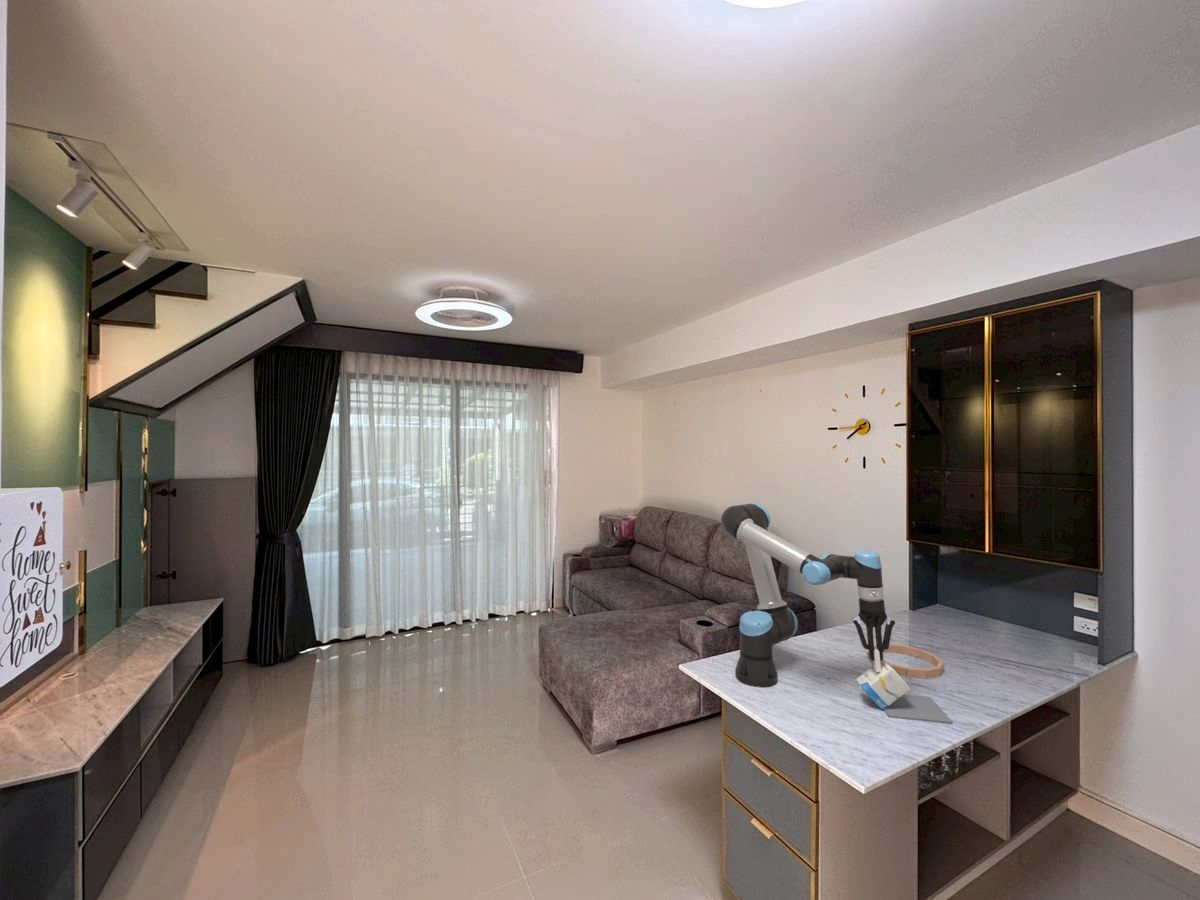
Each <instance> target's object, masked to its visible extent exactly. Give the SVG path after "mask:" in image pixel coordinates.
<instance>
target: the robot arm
mask: <svg viewBox="0 0 1200 900" xmlns="http://www.w3.org/2000/svg"><path fill="white" fill-rule="evenodd" d="M720 521H721V526H722V529H723V530H724V531H725V533H727V534H728V535H729V536H730V537H731V538H733V539H735V540H737V541H739V542H740V543H741V542H743V543H744V547H745V550H746V554H747V558H748V561H749V566H750V570H751V574H752V577H753V582H754V586H755V589H756V590H755V591H756V594H757V598H758V601H759V603H758V605H757V606H756V610H754V611H752V610H750V611H747V612H744V613H743V614H741V616H740V618H739V628H738V629H739V657H738V661H737V663H736V666H735V670H734V672H735V673H734V674H735V675H736V676H735V678H736V679H737V680H738V681H739V680H740V681H739V682H741V683H743V684H745V683H746V684H745V685H747V684H749V686H751V685H753V686H752V687H756V686H760V687H759V688H762V687H763V688H765V687H767V686H768V687H771V686H775V685H777V684H778V680H779V679H778V677H779V676H778V675H779V674H778V671H777V668H776V665H775V662H774V657H773V653H774V652H773V649H774V648H773V646H775V645H777V644H780V643H781V642H786V641H787V640H789V639H791V638H792V637H793V636H794V635H796V632H797V631H798V627H799V623H798V618H797V616H796V614H795V613H794V611H792V610H791V608H789V606H788V603H787V602H786V601H784V600H783V599H782V595H781V592H780V588H779V584H778V580H777V576H776V572H775V568H774V565H773V560H772V558H774V559H775V560H777V561H779V562H781V564H784V565H786V566H787V567H789V568H791V569H793V570H795V571H796V572H798V573H800V574H801V575H802V576H803V577H802V578H804V580H805V582H806V583H808V584H810V585H812V586H818V585H825V584H827V583H829V582H832V581H836V580H837V579H841V578H843V579H852V580H856V583H857V595H858V598H859V599H858V607H859V613H858V614H857V615H858V616H856V617H855V618H854V617H853V618H851V622H852V623H853V624H854V626H855V629H856V631H857V634H858V637H859V640H860V643H861V646H862V647H863V648H864V650H869V658H870V659H871V661H873V665H872V667H874V670H875V671H876V672H881V666H880V661H883V659H884V652H883V651H884V650H885V649H886V650H887V649H888V648H889V644H891V636H892V631H893V627H894V626H895V624H896V621H895V620H894V619H893V618H890V617H888V614H887V613H886V607H885V606H886V605H885V600H884V597H885V596H884V595H885V594H884V585H883V570H882V567H883V566H882V563H881V557H880V554H879V553H878V552H877V551H873V550H872V551H871V550H860V551H856V552H855V553H854V556H848V555H840V554H834V553H832V554H829V553H827V554H826V553H825V554H823V555H821V557H818V556H815V555H814V554H812V553H810V552H809V551H807V550H805V549H802V548H801V547H799V546H797V545H796V544H793V543H791V542H789V541H788V540H785V539H784V538H782V537H780V536H778V535H776V534H774V533H773V532H770V531H769V530H768V528H769V526H770V524H771V516H770V513H769V511H768V510H767V509H766V508H765V506H763V505H761V504H758V503H745V504H738V505H731V506H729V507H727V508H726V509H725V510H724V511H723V512H722V515H721V520H720ZM861 623H863V624H864V625H865V629H866V636H867V637H865V634H864V631H863V629H862V626H861ZM884 624H885V627H884V632H883V635H882V626H883V625H884ZM874 633H875V642H874ZM882 637H883V638H882ZM866 638H867V640H866ZM874 645H876V646H877V649H874Z"/></svg>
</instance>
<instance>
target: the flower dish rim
mask: <svg viewBox="0 0 1200 900" xmlns="http://www.w3.org/2000/svg"><path fill="white" fill-rule="evenodd" d="M874 649H877V646H876V644H874ZM883 653H893V654H894V653H895V654H904V655H907V654H908V656H911V655H912V657H916V656H917V657H916V658H919V657H920V658H919V659H922V660H924V659H925V660H924V661H926V660H927V661H926V662H928V663H932V664H933V666H935V667H930V668H924V669H923V668H914V667H913V668H910V667H903V666H900V665H897V664H892V663H889V662H887V661H886V663H888V664H889V665H890V666H891V667H892V668H893V669H894V670H895V671H896V672H897V673H898V675H899V676H900V677H905V678H911V679H922V678H924V679H923V680H928V678H929V679H933V677H934V678H938V677H937V676H939V677H941V676H942V674H941V673H943V672H944V662H943V661H942V660H941V659H940V658H939V657H938V656H937V655H935V654H933V653H930V652H928V651H926V650H923V649H921V648H916V647H913V646H907V645H903V644H892V643H889V648H888V649H887V650H886V649H885V650H884V651H883ZM866 658H867V660H868V661H869V663H871V665H872V666H873V661H871V659H870V658H869V650H868V649H866ZM942 671H943V672H942ZM940 675H941V676H940Z"/></svg>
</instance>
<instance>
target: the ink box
mask: <svg viewBox="0 0 1200 900" xmlns="http://www.w3.org/2000/svg"><path fill="white" fill-rule="evenodd" d="M886 662H887V661H886V660H885V659H884V658H883V661H880V666H881V672H876V671H875V670H874V667H873V666H872V667H870V668H869V669H868V670H866V671H865V672H864V673H862V674H861V675H859V677H857V678H856V681H857V682H858V684H859V686H861V689H863V691H864V692H865V694H866V695H867V696H869V698H870V699H871V700H872V701H873V702H874V703H875V704H876V706H878V707H879V708H880V710H882V711H884V709H885V708H886V707H888V706H889V705H890V704H892V703H893V702H894V701H896V700H897V699H898V698H900V697H901V696H902V695H906V693H908V692H910V690H911V688H910V687H909V685H908V684H907V683H906V681H905V680H904V679H903V678H902V676H900V675H898V673H897V672H896V671H895V670H894V669H893V668H892V667H891V666H890V665H889V664H890V663H889V662H887V663H886ZM888 663H889V664H888Z"/></svg>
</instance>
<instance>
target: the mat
mask: <svg viewBox="0 0 1200 900" xmlns="http://www.w3.org/2000/svg"><path fill="white" fill-rule="evenodd" d="M883 711H884V713H885V714H886V716H887V718H891V719H901V720H912V721H913V720H914V721H920V722H921V721H922V722H930V723H932V722H933V723H941V724H952V725H953V724H954V722H953V720H952V719H951V718H950V717H949V716H948V715H947V714H946V713H945V711H944V710H943V709H942V708H941V707H940V706H939V705H938V704H937V702H936V701H935V700H934V699H933V698H932V697H931V696H925V695H923V696H922V695H914V694H912V695H911V694H904V695H902V696H901V697H900V698H898V699H897V700H896V701H894V702H893V703H892V704H890V705H889V706H888V707H886V708H885V709H884V710H883Z"/></svg>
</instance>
